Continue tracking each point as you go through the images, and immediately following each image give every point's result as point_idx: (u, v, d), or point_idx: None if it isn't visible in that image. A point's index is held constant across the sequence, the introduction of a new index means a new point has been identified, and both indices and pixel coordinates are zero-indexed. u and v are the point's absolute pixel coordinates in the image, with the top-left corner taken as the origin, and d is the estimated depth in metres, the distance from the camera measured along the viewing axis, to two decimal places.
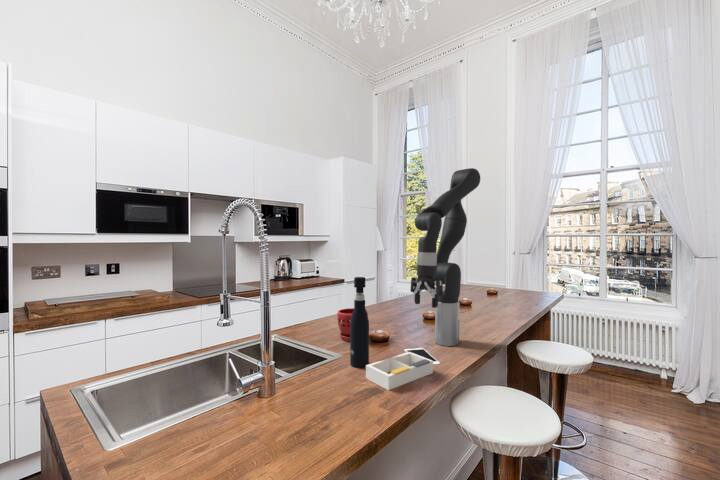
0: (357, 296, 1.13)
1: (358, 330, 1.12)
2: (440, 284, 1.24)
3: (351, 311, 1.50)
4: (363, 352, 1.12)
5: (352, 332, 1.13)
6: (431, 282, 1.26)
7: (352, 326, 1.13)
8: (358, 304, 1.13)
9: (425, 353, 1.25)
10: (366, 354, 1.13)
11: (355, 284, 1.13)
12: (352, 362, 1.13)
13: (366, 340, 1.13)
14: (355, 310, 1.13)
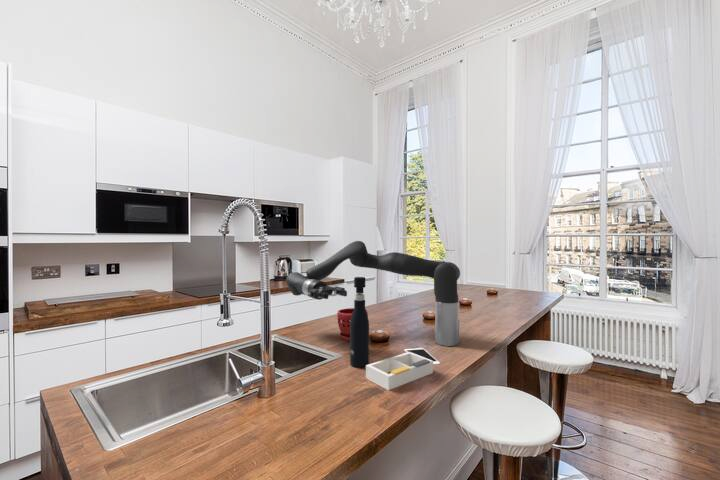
0: (357, 296, 1.13)
1: (358, 330, 1.12)
2: None
3: (351, 311, 1.50)
4: (363, 352, 1.12)
5: (352, 332, 1.13)
6: None
7: (352, 326, 1.13)
8: (358, 304, 1.13)
9: (425, 353, 1.25)
10: (366, 354, 1.13)
11: (355, 284, 1.13)
12: (352, 362, 1.13)
13: (366, 340, 1.13)
14: (355, 310, 1.13)
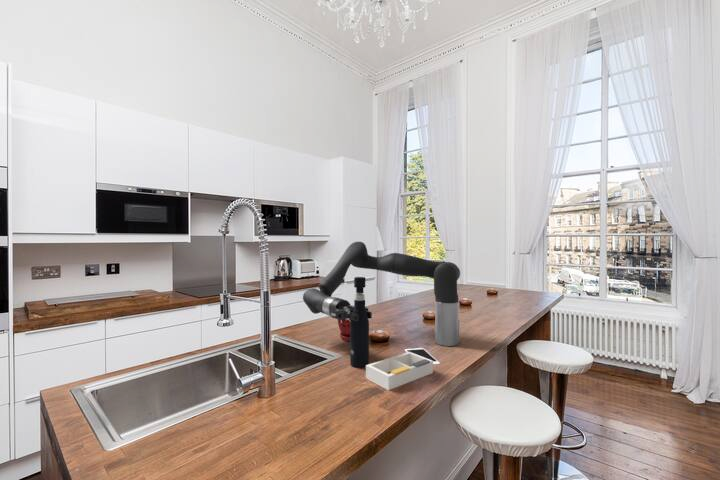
0: (357, 296, 1.13)
1: (358, 330, 1.12)
2: None
3: None
4: (362, 352, 1.12)
5: (352, 332, 1.13)
6: None
7: (352, 326, 1.13)
8: (358, 304, 1.13)
9: (425, 353, 1.25)
10: (366, 354, 1.13)
11: (355, 284, 1.13)
12: (352, 362, 1.13)
13: (366, 340, 1.13)
14: (355, 310, 1.13)
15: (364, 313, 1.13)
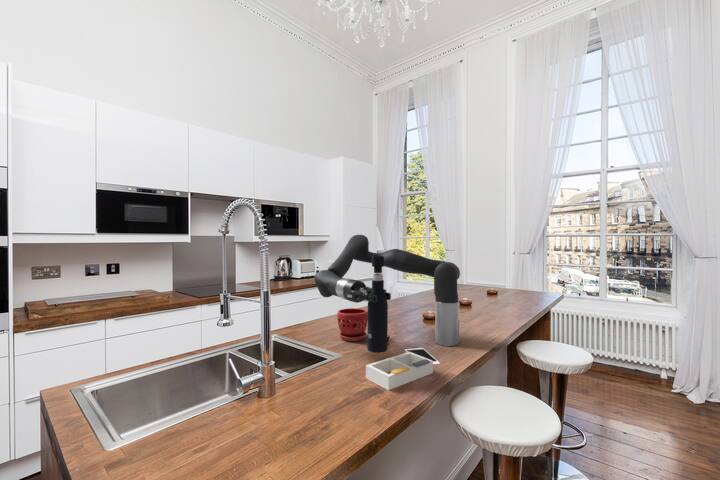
0: (375, 276, 1.05)
1: (377, 312, 1.04)
2: None
3: (351, 311, 1.50)
4: (381, 336, 1.04)
5: (370, 314, 1.05)
6: None
7: (370, 308, 1.05)
8: (377, 284, 1.05)
9: (425, 353, 1.25)
10: (385, 338, 1.05)
11: (373, 263, 1.05)
12: (370, 346, 1.05)
13: (385, 323, 1.05)
14: (373, 291, 1.05)
15: (383, 294, 1.05)
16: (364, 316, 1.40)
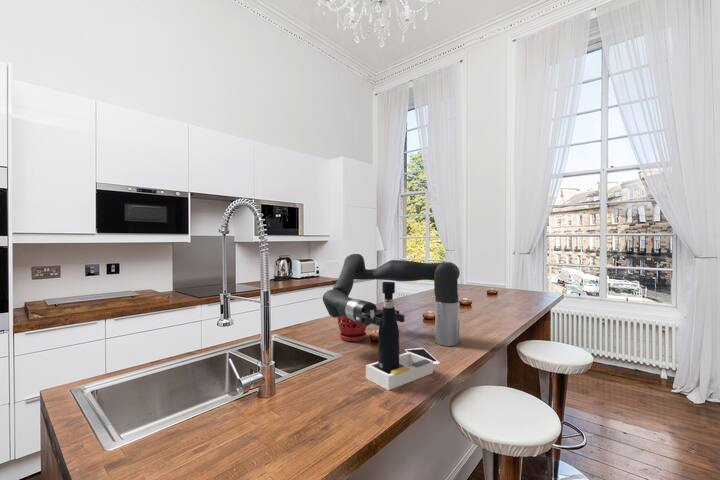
0: (386, 303, 1.02)
1: (388, 341, 1.00)
2: None
3: None
4: (393, 366, 1.00)
5: (381, 343, 1.01)
6: None
7: (381, 336, 1.01)
8: (388, 311, 1.01)
9: (425, 353, 1.25)
10: (397, 368, 1.01)
11: (384, 290, 1.02)
12: None
13: (396, 352, 1.01)
14: (384, 319, 1.02)
15: (394, 322, 1.01)
16: None
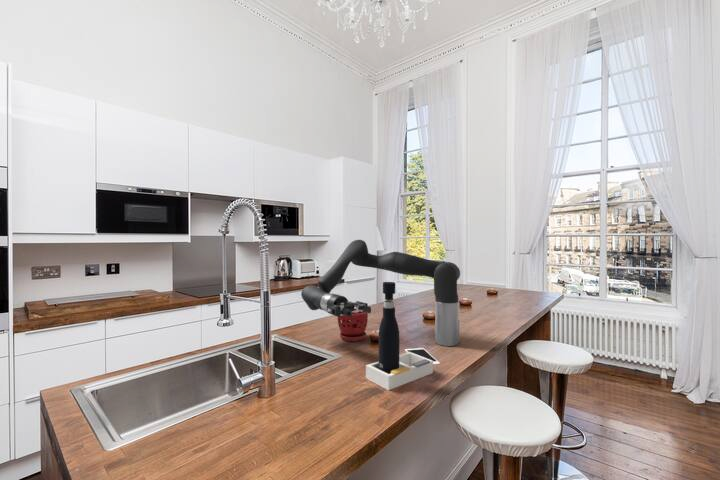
0: (386, 303, 1.02)
1: (388, 341, 1.00)
2: None
3: None
4: (393, 366, 1.00)
5: (381, 343, 1.01)
6: None
7: (381, 337, 1.01)
8: (388, 312, 1.01)
9: (425, 353, 1.25)
10: (397, 368, 1.01)
11: (384, 290, 1.02)
12: None
13: (397, 352, 1.01)
14: (384, 319, 1.02)
15: (394, 322, 1.01)
16: (364, 316, 1.40)
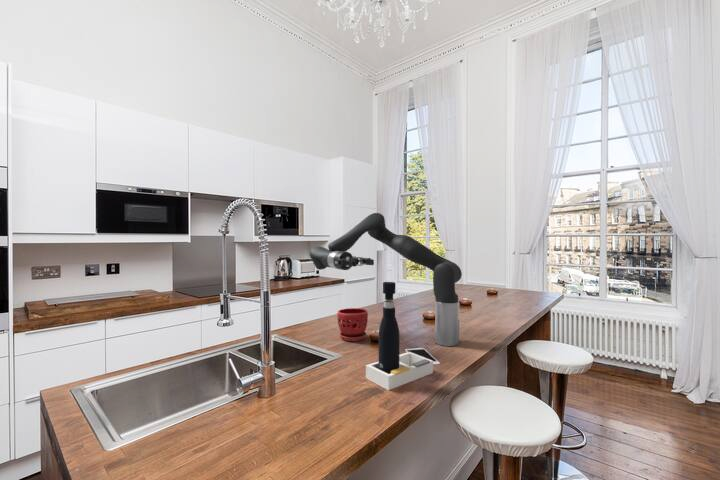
0: (386, 303, 1.02)
1: (388, 341, 1.00)
2: None
3: (351, 311, 1.50)
4: (393, 366, 1.00)
5: (381, 343, 1.01)
6: None
7: (381, 337, 1.01)
8: (388, 312, 1.01)
9: (425, 353, 1.25)
10: (397, 368, 1.01)
11: (384, 290, 1.02)
12: None
13: (397, 352, 1.01)
14: (384, 319, 1.02)
15: (394, 322, 1.01)
16: (364, 316, 1.40)
